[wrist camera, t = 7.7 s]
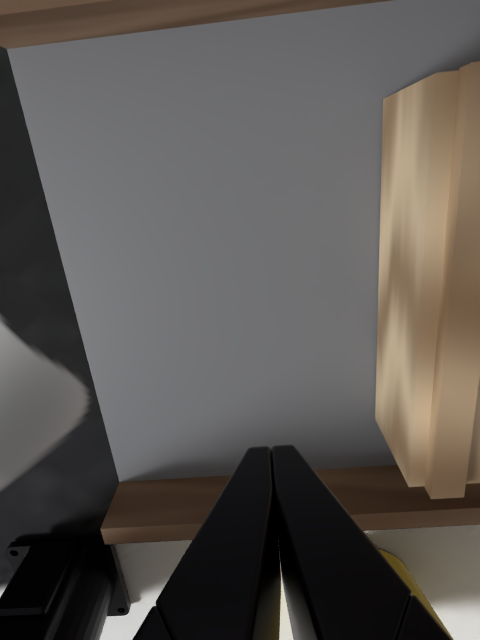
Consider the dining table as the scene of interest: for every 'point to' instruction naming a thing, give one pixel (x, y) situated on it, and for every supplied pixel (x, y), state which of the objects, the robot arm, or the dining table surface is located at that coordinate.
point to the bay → (229, 233)
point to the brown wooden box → (431, 282)
